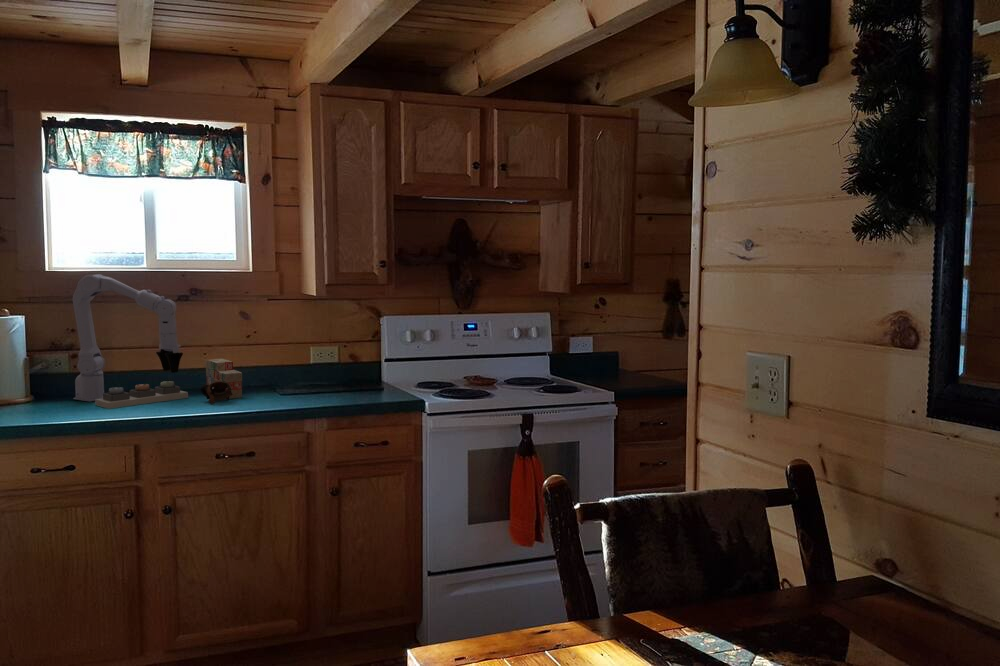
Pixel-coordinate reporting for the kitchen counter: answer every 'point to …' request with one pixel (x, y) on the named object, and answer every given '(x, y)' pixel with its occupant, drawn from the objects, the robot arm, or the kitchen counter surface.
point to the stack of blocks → (224, 375)
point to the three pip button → (142, 387)
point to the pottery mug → (216, 391)
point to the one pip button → (167, 384)
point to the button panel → (140, 397)
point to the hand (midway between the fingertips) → (170, 371)
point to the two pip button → (116, 390)
